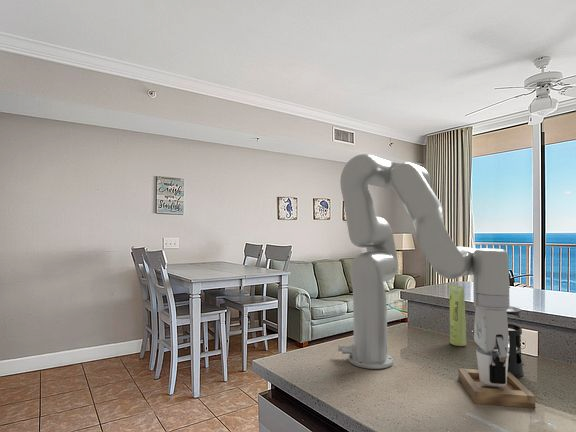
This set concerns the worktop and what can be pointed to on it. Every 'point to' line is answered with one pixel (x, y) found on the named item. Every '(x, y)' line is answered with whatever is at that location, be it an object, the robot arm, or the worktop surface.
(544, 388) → the worktop surface
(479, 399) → the tray
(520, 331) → the french press
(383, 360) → the robot arm
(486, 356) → the white tapered cylinder
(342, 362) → the worktop surface
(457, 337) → the tube
